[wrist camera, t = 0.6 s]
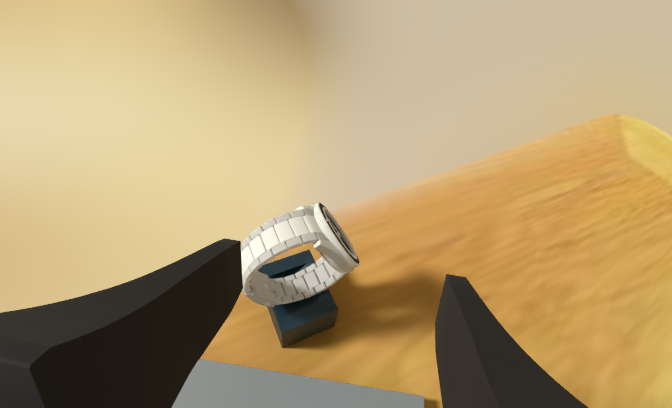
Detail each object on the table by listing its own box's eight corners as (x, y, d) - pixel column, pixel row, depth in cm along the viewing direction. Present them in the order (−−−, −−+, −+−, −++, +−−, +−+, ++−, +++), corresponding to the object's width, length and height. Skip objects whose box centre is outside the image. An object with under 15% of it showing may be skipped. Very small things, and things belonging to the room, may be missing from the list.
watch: (356, 316, 30) (382, 241, 21) (259, 357, 27) (245, 289, 19) (327, 260, 33) (340, 175, 24) (238, 292, 30) (218, 208, 22)
